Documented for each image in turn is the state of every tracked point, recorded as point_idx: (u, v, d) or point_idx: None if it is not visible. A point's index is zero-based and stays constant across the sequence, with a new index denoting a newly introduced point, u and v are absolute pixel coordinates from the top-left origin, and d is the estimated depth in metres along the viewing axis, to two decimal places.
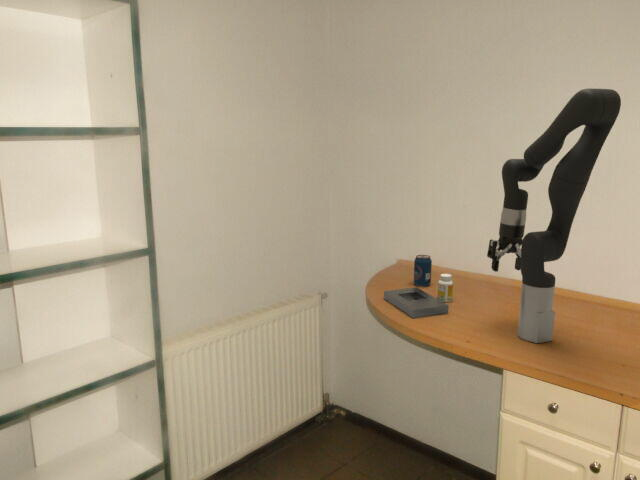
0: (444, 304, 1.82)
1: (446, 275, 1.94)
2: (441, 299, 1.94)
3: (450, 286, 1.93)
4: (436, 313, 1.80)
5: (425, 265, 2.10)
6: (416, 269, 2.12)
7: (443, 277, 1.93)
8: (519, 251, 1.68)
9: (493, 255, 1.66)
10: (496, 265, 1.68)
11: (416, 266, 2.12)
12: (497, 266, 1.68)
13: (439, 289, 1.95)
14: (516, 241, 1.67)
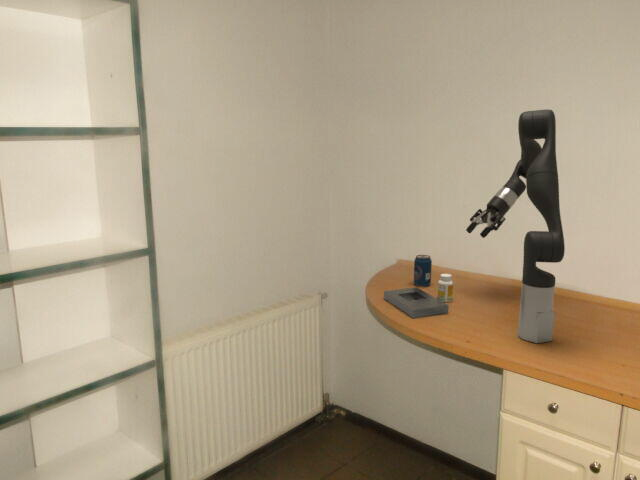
0: (444, 304, 1.82)
1: (446, 275, 1.94)
2: (441, 299, 1.94)
3: (450, 286, 1.93)
4: (436, 313, 1.80)
5: (425, 265, 2.10)
6: (416, 269, 2.12)
7: (443, 277, 1.93)
8: (488, 219, 1.92)
9: (472, 217, 2.01)
10: (469, 226, 1.99)
11: (416, 266, 2.12)
12: (469, 226, 1.99)
13: (439, 289, 1.95)
14: (492, 212, 1.94)
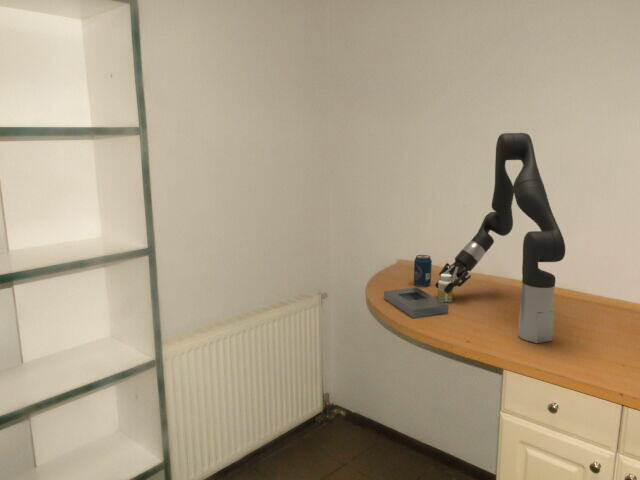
0: (444, 304, 1.82)
1: (446, 275, 1.94)
2: (441, 299, 1.94)
3: None
4: (436, 313, 1.80)
5: (425, 265, 2.10)
6: (416, 269, 2.12)
7: (443, 277, 1.93)
8: (454, 274, 1.93)
9: (441, 272, 2.00)
10: None
11: (416, 266, 2.12)
12: None
13: (439, 289, 1.95)
14: (460, 267, 1.94)
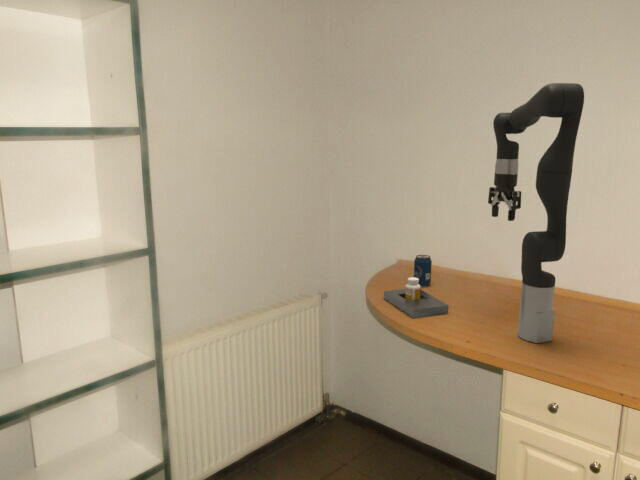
0: (444, 304, 1.82)
1: (413, 279, 1.89)
2: None
3: (417, 290, 1.88)
4: (436, 313, 1.80)
5: (425, 265, 2.10)
6: (416, 269, 2.12)
7: (410, 281, 1.89)
8: (505, 200, 1.79)
9: (489, 200, 1.88)
10: (492, 210, 1.87)
11: (416, 266, 2.12)
12: (492, 211, 1.86)
13: (406, 293, 1.90)
14: (505, 190, 1.79)
